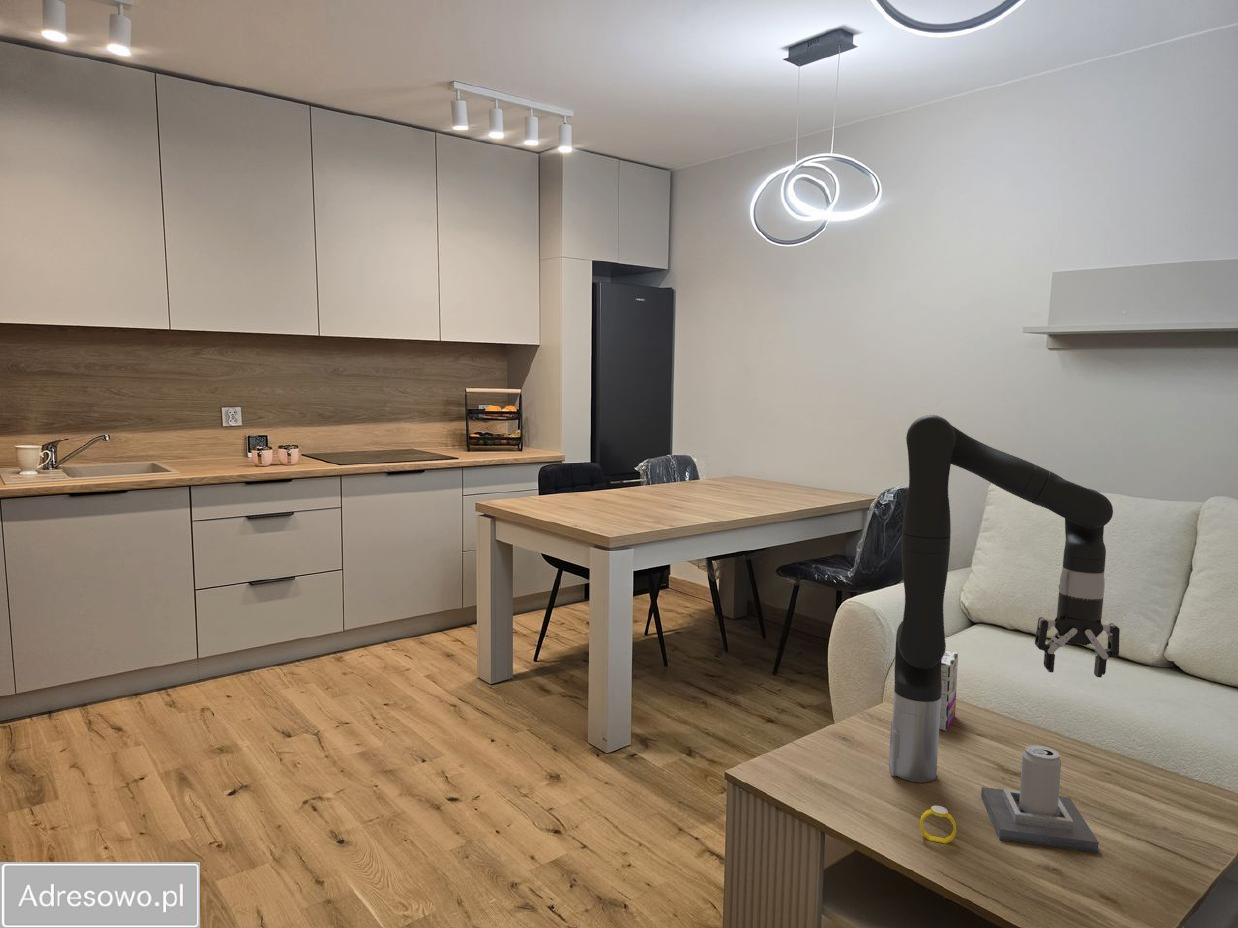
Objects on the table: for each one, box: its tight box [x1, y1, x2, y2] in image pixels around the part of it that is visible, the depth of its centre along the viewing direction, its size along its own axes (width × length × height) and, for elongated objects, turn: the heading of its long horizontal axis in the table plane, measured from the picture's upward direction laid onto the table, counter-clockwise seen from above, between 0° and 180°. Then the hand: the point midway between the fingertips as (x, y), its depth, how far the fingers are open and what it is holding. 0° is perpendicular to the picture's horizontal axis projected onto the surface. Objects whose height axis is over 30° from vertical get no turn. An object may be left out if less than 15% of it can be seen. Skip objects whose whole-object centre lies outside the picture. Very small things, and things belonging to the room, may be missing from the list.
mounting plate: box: [980, 786, 1100, 854], centre depth 151 cm, size 16×16×4 cm
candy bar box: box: [939, 649, 959, 732], centre depth 196 cm, size 11×5×16 cm, turn 148°
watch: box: [919, 805, 957, 845], centre depth 145 cm, size 6×3×6 cm, turn 69°
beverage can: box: [1019, 744, 1062, 817], centre depth 151 cm, size 6×6×12 cm
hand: (1073, 673), depth 158 cm, fingers open, 8 cm apart
